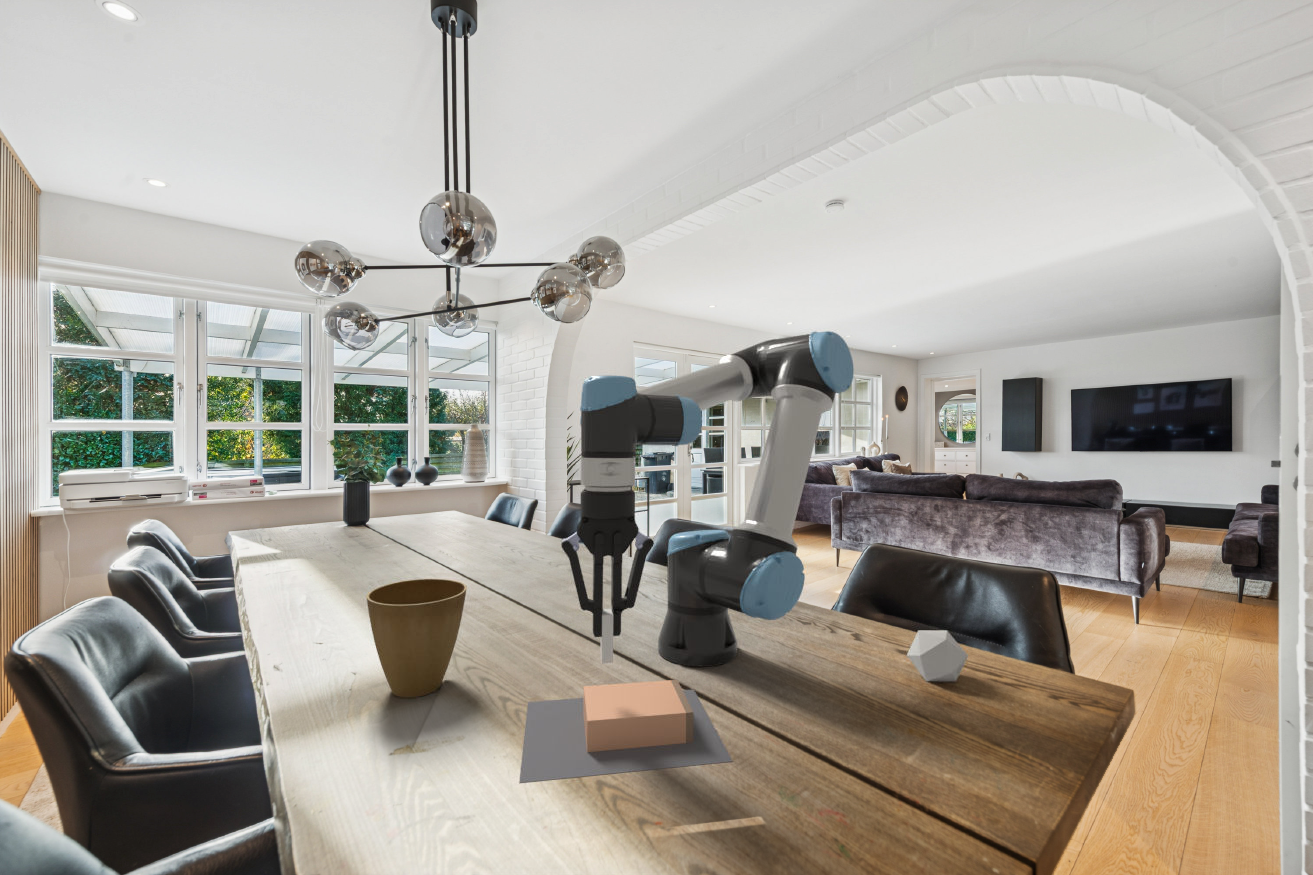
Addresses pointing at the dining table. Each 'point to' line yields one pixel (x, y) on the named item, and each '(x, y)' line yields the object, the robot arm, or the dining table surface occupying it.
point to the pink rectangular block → (636, 715)
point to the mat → (563, 750)
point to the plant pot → (416, 631)
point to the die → (937, 655)
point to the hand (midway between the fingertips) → (606, 658)
